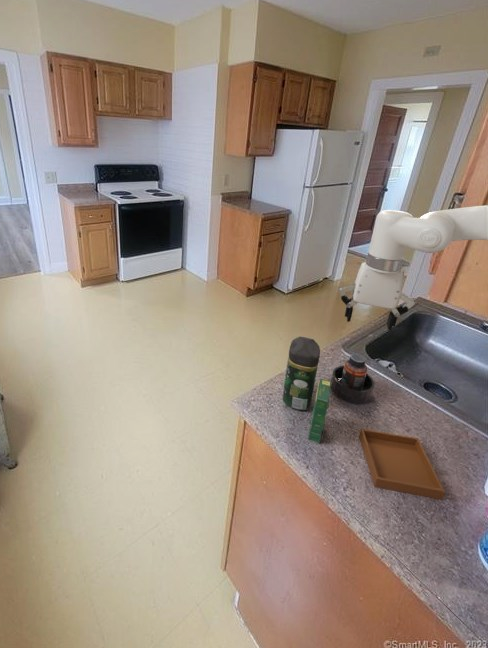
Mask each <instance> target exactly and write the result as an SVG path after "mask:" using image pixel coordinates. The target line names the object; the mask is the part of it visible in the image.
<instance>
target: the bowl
mask: <svg viewBox="0 0 488 648" xmlns="http://www.w3.org/2000/svg"><path fill="white" fill-rule="evenodd" d="M343 370H344V365H339V366H336V367H335V368H334V369H333V370H332V374H331V380H330V386H331V387H330V390H331V389H332V390H331V391H332V393H333V392H334V393H333V394H334V395H335V396H336V397H337V398H339V400H341V401H343V402H346V403H349V404H351V405H356V406H357V405H358V406H359V405H365V404H368V403H369V402H370V401H371V399H372V397H373V393H374V389H375V380H374V378H373V377H372V376H371V375H370V374H369V373H368V372H367V373H366V377H365V381H364V385H363V389H362V391H359V390H354V389H351V388H348V387H346V386H344V385H343V384H341V380H340V381H338V380H339V379H338V378H342V374H343Z"/></svg>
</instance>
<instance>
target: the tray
mask: <svg viewBox="0 0 488 648" xmlns="http://www.w3.org/2000/svg"><path fill="white" fill-rule="evenodd" d="M358 437H359V441H360V443H361V448H362V450H363V454H364V458H365V460H366V464H367V468H368V470H369V474H370V477H371V480H372V484H373V487H374V488H379V489H385V490H389V491H394V492H400V493H403V494H404V493H405V494H410V495H414V496H415V495H416V496H420V497H424V498H431V499H436V500H440V501H441V500H443V498H444V495H445V493H446V491H445V489H444V486H443V485H442V483H441V481H440V479H439V476H438V475H437V473H436V471H435V469H434V467H433V464H432V462H431V461H430V459H429V457H428V454H427V453H426V451H425V448H424V447H423V445H422V443H421V440H420V438H419V437H415V436H408V435H402V434H397V433H390V432H385V431H378V430H373V429H366V428H360V430H359V434H358Z"/></svg>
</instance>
